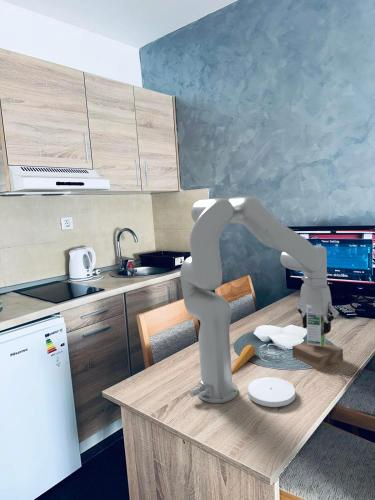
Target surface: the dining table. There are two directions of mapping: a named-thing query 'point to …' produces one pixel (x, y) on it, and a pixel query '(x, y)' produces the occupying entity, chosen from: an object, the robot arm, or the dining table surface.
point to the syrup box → (315, 328)
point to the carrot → (244, 357)
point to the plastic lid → (271, 392)
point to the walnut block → (318, 355)
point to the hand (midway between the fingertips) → (316, 329)
